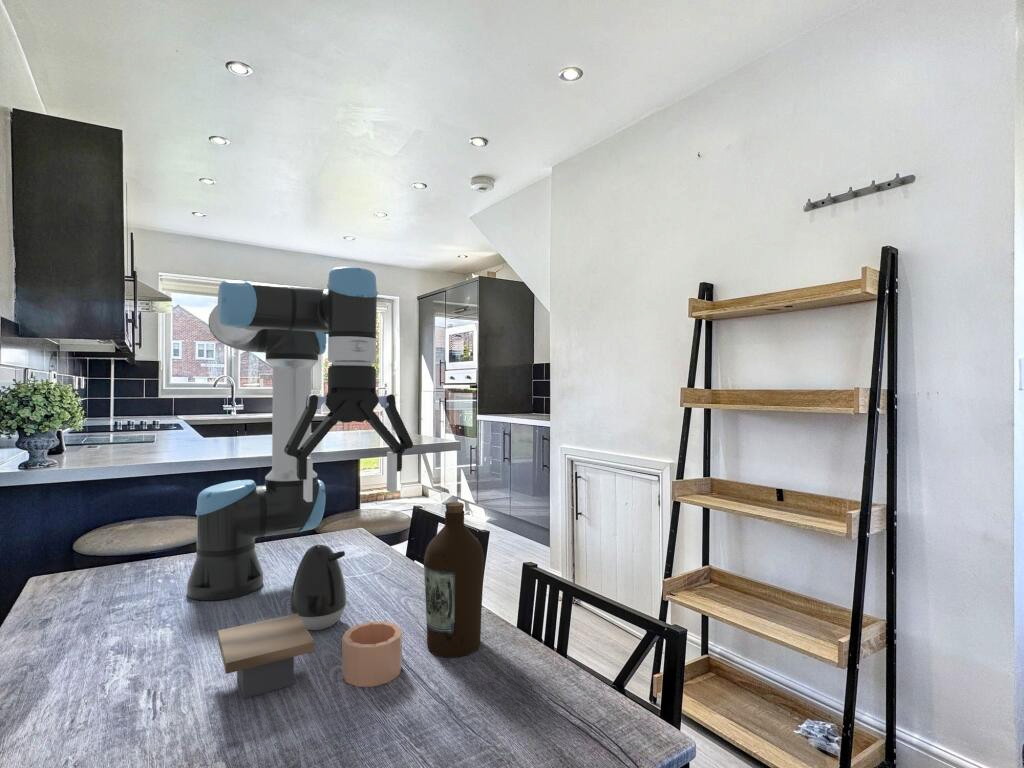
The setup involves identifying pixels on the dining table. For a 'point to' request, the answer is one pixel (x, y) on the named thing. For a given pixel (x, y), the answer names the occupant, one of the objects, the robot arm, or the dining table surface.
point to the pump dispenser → (319, 588)
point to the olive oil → (454, 587)
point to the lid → (264, 642)
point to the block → (266, 677)
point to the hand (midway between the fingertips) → (351, 495)
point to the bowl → (371, 653)
